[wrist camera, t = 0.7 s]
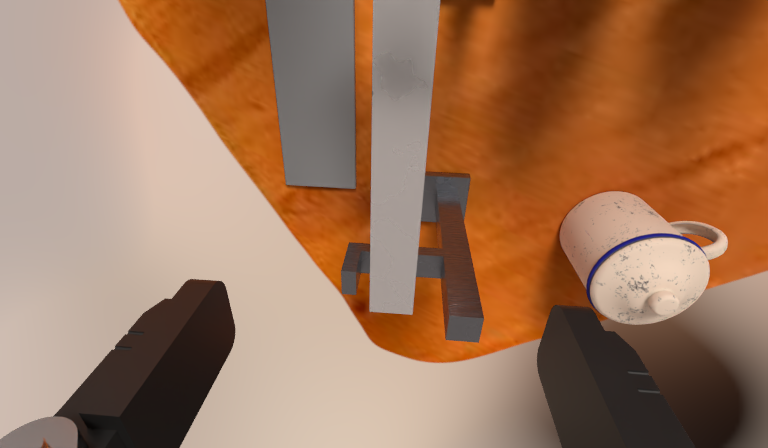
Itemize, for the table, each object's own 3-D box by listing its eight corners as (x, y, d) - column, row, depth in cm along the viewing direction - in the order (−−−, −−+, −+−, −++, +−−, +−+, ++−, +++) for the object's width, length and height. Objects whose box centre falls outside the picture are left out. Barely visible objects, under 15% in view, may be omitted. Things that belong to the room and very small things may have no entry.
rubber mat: (251, -153, 26) (248, -156, 26) (352, -152, 26) (351, -155, 25) (287, 182, 39) (286, 184, 38) (356, 186, 39) (355, 188, 38)
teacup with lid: (563, 273, 42) (608, 359, 32) (548, 203, 38) (595, 276, 28) (686, 243, 39) (778, 328, 29) (684, 164, 35) (791, 231, 25)
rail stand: (367, -94, 27) (301, -215, 12) (509, -91, 27) (634, -213, 11) (366, 212, 40) (333, 348, 25) (462, 218, 40) (490, 360, 24)
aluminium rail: (381, -134, 17) (375, -158, 15) (448, -134, 17) (454, -157, 14) (373, 284, 29) (369, 311, 27) (412, 286, 29) (412, 314, 27)
